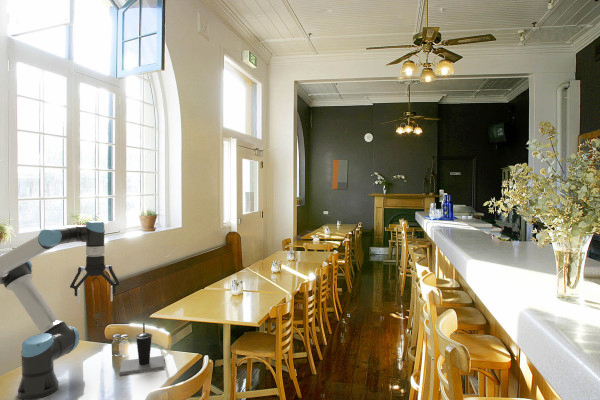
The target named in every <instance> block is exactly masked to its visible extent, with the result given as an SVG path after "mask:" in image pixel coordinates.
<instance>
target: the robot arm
mask: <svg viewBox="0 0 600 400" xmlns="http://www.w3.org/2000/svg"><path fill="white" fill-rule="evenodd" d="M105 233H106V229H105V223H104V221H102V220H89V221H86V223H85V225H82V224H65V225H63V226H56V227H48V228H44V229H42V230H40V232H39V234H38V235H36V236H35V237H33V238H31V239H29V240H27V241H26V242H24V243H22V244H20V245H18V246H16V247H14V248H13V249H12V250H9V251H7V252H5V253H3V254H2V255H1V256H0V285H3V286H4V288H5V289H6V290H8V291H12V292H13V294H14V295H15V297H16V298H17V300H18V301H19V303H20V304H21V306H22V308H24V310H25V312H26V313H27V314H28V316H29V318H30V319H31V320H32V322H33V323H34V325H35V326H36V328H37V330H38V331H39V333H38V334H35V335H32V336H30V337H28V338H26V339H25V340H24V341H22V344H21V351H20V355H21V356H20V357H21V372H22V373H21V379H20V382H19V385H18V388H17V398H18V399H19V400H20V399H21V400H36V399H37V400H38V399H40V398H44V397H47V396H50V395H52V394H54V393H55V392H56V391H58V390H59V387H60V386H59V379H58V378H57V376H56V373H55V369H54V367H55V366H54V361H56V360H58V359H60V358H62V357H63V356H66V355H68V354H70V353H71V352H73V351H74V350H75V349H76V348H77V347H78V346H79V343H80V333H79V331H78V329H77V328H76V327H74V326H71V325H68V324H67V323H66V322H65V321H64V320H60V319H59V318H58V317H57V316H56V314H55V312H54V311H53V310H52V308H51V306H50V305H49V303H48V302H47V300H46V299H45V298H44V296H43V295H42V294H41V292H40V290H39V289H38V287H37V286H36V285H35V284H34V282H33V280H32V279H33V277H34V276H33V273H32V272H33V264H32V262H31V260H32V259H35V258H37V257H39V256H40V255H42V254H44V253H45V252H47V251H50V250H51V249H53V248H54V247H57V246H59V245H63V244H69V243H74V242H77V243H83V242H84V243H85V244H86V246H85V255H86V257H85V266H79V267H78V268H77V273H76V274H75V277H74V278H73V280H72V281H71V284H70V285H69V288H70V289H74V297H77V298H76V300H77V301H76V303H77V305H78V304H79V305H80V302H81V288H80V286H81V285H82V284H83V283H84V282H85V281H86V279H87V278H88V277H100V276H101V277H103V278H104V279H105V280H106V282H108V283H109V284H110V285H111V286H110V302H113V300H114V299H113V298H114V297H113V296H114V295H113V294H115V293H116V287H117V286H119V285H120V283H121V282H120V280H119V278H118V277H117V275H116V273H115V271H114V269H113V265H112V264H109V265H105V254H106V253H105ZM84 270H85V272H86V273H85V275H84V276H83V277H82V278H81V279H80V280H79V281H78V282H77V280H78V279H79V277H80V275H81V273H82V272H84ZM105 270H107V271H109V274H110V275H111V277H112V278H110V276H108V275H107V273H106V272H105ZM112 279H113V280H114V281H113V280H112ZM76 282H77V284H76Z"/></svg>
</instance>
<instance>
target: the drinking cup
mask: <svg viewBox="0 0 600 400" xmlns="http://www.w3.org/2000/svg"><path fill="white" fill-rule="evenodd" d="M145 325H146V324H145V322H142V328H143V329H142V332H141V333H139V334H137V335H136V336H135V339H136V346H137V347H136V348H137V355H138V356H137V357H138V358H137V359H139V364H140V365H146V364H149V362H150V357H151V349H152V337H153V333H149V332H145Z"/></svg>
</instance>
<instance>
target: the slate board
mask: <svg viewBox="0 0 600 400" xmlns="http://www.w3.org/2000/svg"><path fill="white" fill-rule="evenodd" d="M161 370H162V371H163V370H165V357H164V355H159V356H150V362H149V364H146V365H140V364H139V358H133V359H126V360H124V359H123V360H121V362H120V368H119V376H124V375H132V374H138V373H147V372H153V371H161Z"/></svg>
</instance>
